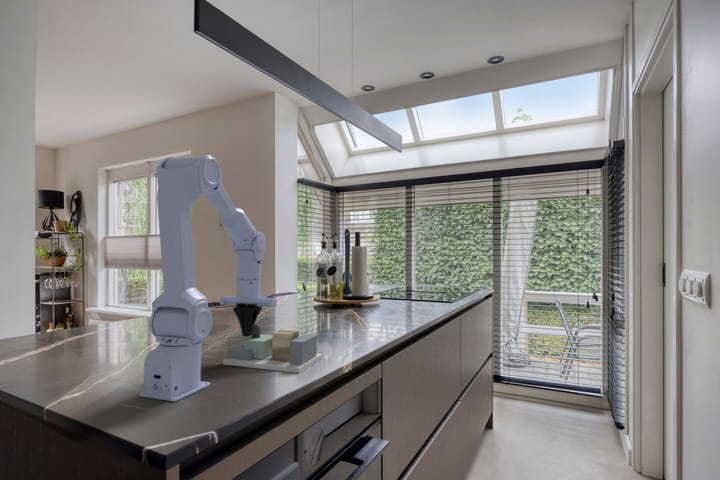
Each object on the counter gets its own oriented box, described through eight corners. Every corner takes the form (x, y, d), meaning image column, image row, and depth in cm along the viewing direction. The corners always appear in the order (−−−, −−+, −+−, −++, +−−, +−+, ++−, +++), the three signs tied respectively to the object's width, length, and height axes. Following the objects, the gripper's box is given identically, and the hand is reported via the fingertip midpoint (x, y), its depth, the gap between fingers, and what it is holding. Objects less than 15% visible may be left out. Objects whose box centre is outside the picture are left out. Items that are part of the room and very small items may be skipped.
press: (299, 373, 85) (299, 344, 85) (223, 364, 91) (223, 337, 91) (322, 358, 98) (322, 333, 98) (254, 351, 103) (254, 327, 103)
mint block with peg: (262, 359, 91) (263, 328, 91) (243, 357, 93) (244, 326, 93) (277, 352, 98) (278, 323, 98) (259, 350, 99) (260, 322, 100)
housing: (289, 360, 91) (290, 334, 91) (267, 358, 92) (268, 332, 92) (298, 356, 95) (298, 330, 95) (277, 353, 97) (277, 329, 97)
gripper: (283, 279, 99) (281, 334, 98) (232, 277, 103) (231, 330, 102) (268, 281, 92) (267, 340, 92) (215, 279, 96) (213, 335, 96)
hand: (247, 335), depth 97 cm, fingers closed
